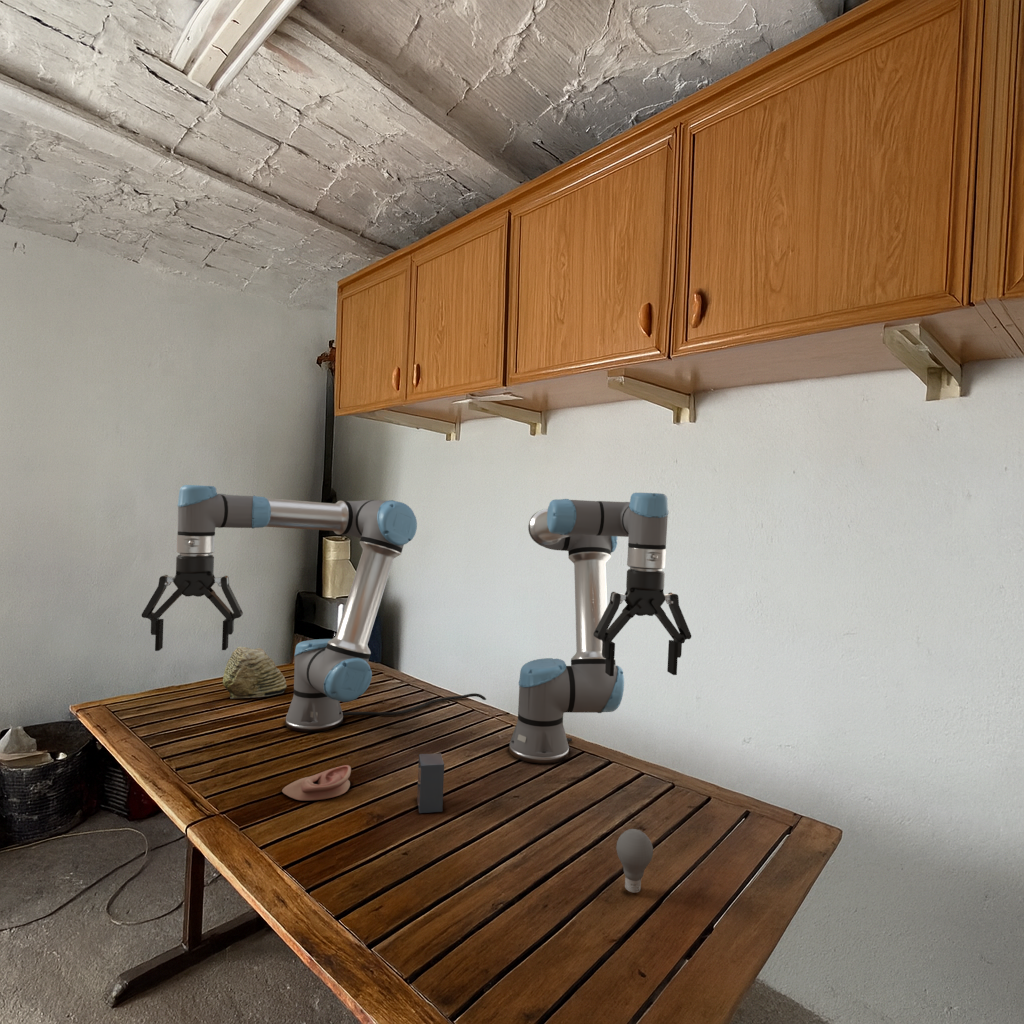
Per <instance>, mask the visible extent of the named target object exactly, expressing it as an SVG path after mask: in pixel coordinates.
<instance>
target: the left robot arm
mask: <svg viewBox="0 0 1024 1024" xmlns="http://www.w3.org/2000/svg"><path fill="white" fill-rule="evenodd" d="M216 528H218V529H219V528H220V529H223V528H226V529H227V528H228V529H229V528H231V529H232V528H233V529H234V528H235V529H261V528H279V529H296V530H312V531H313V530H314V531H333V532H334V534H336V535H340V536H342V535H343V536H350V537H355V538H359V545H360V547H361V549H362V551H361V556H360V558H359V561H358V565H357V568H356V571H355V574H354V578H353V581H352V583H351V586H350V590H349V593H348V597H347V599H346V603H345V606H344V608H343V612H342V615H341V618H340V621H339V624H338V628H337V631H336V634H335V636H333V638H319V639H308V640H303V641H300V642H297V644H296V645H295V650H294V655H293V656H294V672H293V695H292V696H293V697H292V699H291V702H290V704H289V708H288V711H287V713H286V715H285V726H286V728H287V729H289V730H291V731H294V732H295V731H296V732H301V733H316V732H325V731H329V730H332V729H335V728H337V727H339V726H340V725H342V723H343V722H344V717H347V716H379V717H381V716H382V717H385V716H386V717H387V716H389V717H390V716H399V715H403V714H407V713H410V712H414V711H417V710H420V709H422V708H425V707H428V706H430V705H431V704H436V703H439V702H444V701H451V700H460V699H461V700H462V699H466V698H471V697H473V698H474V697H476V698H480V699H481V700H483V701H486V700H487V698H486V697H485V696H484V695H483V694H481V693H476V692H475V693H467V694H463V695H454V696H446V697H440V698H436V699H435V698H434V699H431V700H429V701H426V702H424V703H422V704H418V705H416V706H413V707H410V708H407V709H402V710H398V711H387V712H385V711H384V712H383V711H343V709H342V706H341V702H343V703H348V702H349V703H350V702H353V701H355V700H357V699H358V698H359V697H361V696H362V695H364V694H365V693H366V691H367V690H368V688H369V687H370V685H371V682H372V679H373V678H372V677H373V673H372V672H373V671H372V669H371V666H370V664H369V660H370V657H371V654H372V652H371V649H370V648H369V645H368V644H369V641H370V638H371V635H372V630H373V627H374V625H375V621H376V617H377V615H378V612H379V608H380V606H381V602H382V598H383V595H384V592H385V588H386V586H387V582H388V579H389V576H390V572H391V569H392V566H393V562H394V560H395V559H396V558H397V557H400V556H401V555H402V552H403V549H404V546H405V545H407V544H408V543H409V542H411V541H412V540H413V539H414V537H415V536H416V533H417V529H418V520H417V516H416V515H415V513H414V510H413V508H411V507H410V506H409V505H408V504H406V503H404V502H401V501H398V500H397V501H396V500H393V499H389V500H381V499H364V500H338V501H337V502H335V503H333V502H320V501H319V502H318V501H307V500H297V499H296V500H295V499H282V498H273V497H271V498H270V497H265V496H257V495H240V494H239V495H238V494H226V493H218V492H217V487H216V486H214V485H199V484H198V485H197V484H183V485H182V486H181V487H180V488H179V493H178V501H177V535H176V553H178V555H177V556H176V558H175V575H174V576H170V575H168V574H163V575H161V576H160V577H159V578H158V585H157V587H156V588H155V590H154V592H153V594H152V596H151V597H150V599H149V601H148V603H147V604H146V606H145V608H144V609H143V611H142V612H141V617H142V618H143V619H147V620H150V634H151V636H155V637H154V638H155V639H154V652H159V651H161V650H162V649H163V647H164V646H163V645H164V644H163V643H164V618H161V617H162V616H163V614H165V613H166V611H168V610H169V608H171V606H172V605H174V603H175V602H176V601H177V600H178V599H179V598H180V597H181V596H185V597H197V598H198V597H203V596H205V598H207V600H209V601H210V602H211V604H212V605H213V606H214V607H215V608H216V609H217V610H218V611H219V612H220V614H221V615H222V616H223V617H224V618H225V619H223V620H222V635H221V637H222V640H221V651H226V650H227V649H228V648H229V635H232V634H233V633H234V627H235V619H240V618H241V617H242V616H243V615H244V612H243V610H242V608H241V605H240V603H239V602H238V599H237V598H236V596H235V593H234V592H233V589H232V587H231V586H230V577H229V575H223V576H217V577H216V576H215V573H214V569H215V556H214V555H213V554H214V553H215V545H216V544H215V543H216V541H215V540H216ZM172 583H173V584H174V585H175V587H176V588H177V589H175V591H174V592H173V593H172V594H171V595H170V597H168V599H166V600H165V601H164V602H163V604H161V605H160V606H159V607H158V609H156V611H155V612H154V610H155V608H156V606H157V605H158V604H159V601H160V599H161V598H162V596H163V594H164V593H165V591H166V590H167V587H168V586H170V585H171V584H172ZM215 584H217V586H218V587H221V590H222V592H223V594H224V596H225V598H226V601H227V602H228V604H229V606H230V608H231V610H230V608H229V607H228V606H227V605H226V603H225V602H224V601H223V600H222V599H221V598H220V596H219V595H217V592H216V591H215V590H214V588H212V587H213V586H214V585H215Z"/></svg>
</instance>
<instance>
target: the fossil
mask: <svg viewBox="0 0 1024 1024" xmlns="http://www.w3.org/2000/svg"><path fill="white" fill-rule="evenodd" d="M222 676H223V677H222V685H223V687H224V688H225V690H226V691H228V693H229V698H230V699H250V698H264V697H271V696H275V695H281V694H284V693H285V691H286V689H287V687H288V686H287V680H286V678H285V676H284V674H283V673H282V672H281V669H279V668H278V667H277V665H276V663H275V662H274V660H273V659H272V658H271V657H270V656H269V655H268V654H267V653H266V652H265V650H264V649H263V648H260V647H258V648H251V647H247V646H246V647H245V646H238V647H237V648H236V649H235V650H233V651H232V653H231V656H230V657H229V659H228V660H227V663H226V666H225V668H224V671H223V675H222Z"/></svg>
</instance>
